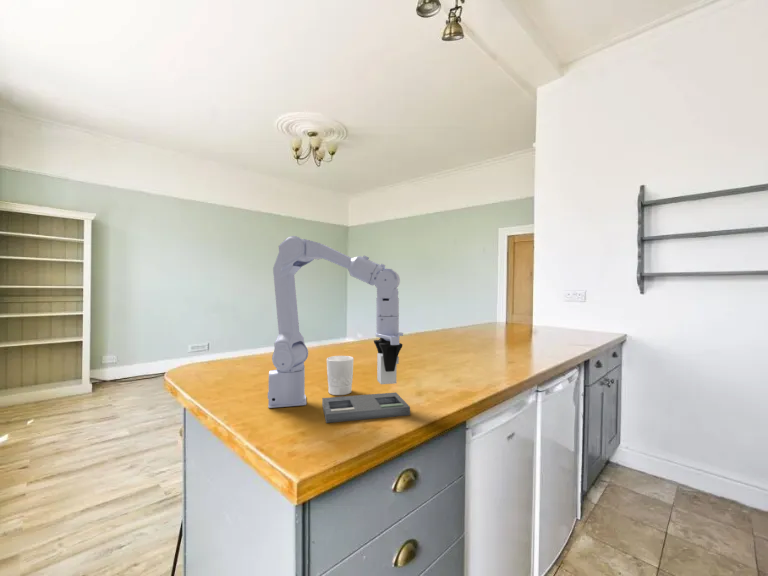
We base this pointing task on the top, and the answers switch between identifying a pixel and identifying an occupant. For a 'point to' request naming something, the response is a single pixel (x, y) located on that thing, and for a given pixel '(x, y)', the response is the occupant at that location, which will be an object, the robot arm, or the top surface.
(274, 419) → the top surface
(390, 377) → the plug
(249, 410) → the top surface
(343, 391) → the white cup
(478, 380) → the top surface
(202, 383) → the top surface
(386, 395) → the grey socket base
